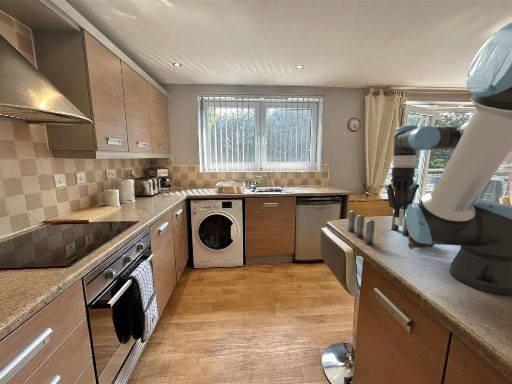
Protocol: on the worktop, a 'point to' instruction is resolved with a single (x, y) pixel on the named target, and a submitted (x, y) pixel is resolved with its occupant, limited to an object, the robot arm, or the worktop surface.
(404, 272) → the worktop surface
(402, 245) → the worktop surface
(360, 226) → the posts
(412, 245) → the pottery mug
